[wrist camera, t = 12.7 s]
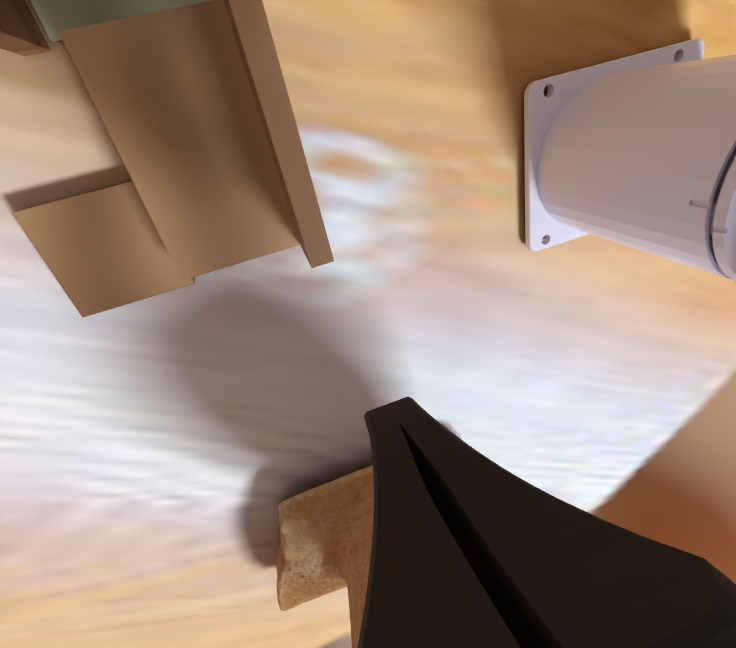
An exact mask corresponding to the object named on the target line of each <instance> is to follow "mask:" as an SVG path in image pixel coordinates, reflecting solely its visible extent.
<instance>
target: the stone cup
mask: <svg viewBox="0 0 736 648" xmlns="http://www.w3.org/2000/svg"><path fill="white" fill-rule="evenodd" d="M278 513H279V517H278V519H279V525H280V530H279V531H280V546H279V551H278V556H277V564H276V567H277V576H278V577H277V596H278V603H279V606H280V609H281V610H282V611H285V610H288V609H291V608H294V607H296V606H298V605H300V604H302V603H304V602H307V601H310V600H313V599H315V598H318V597H320V596H323V595H326V594H328V593H331V592H334V591H336V590H339V589H342V588H344V587H347V588H348V597H349V609H350V621H351V638H352V648H357V647H358V641H359V635H360V629H361V624H362V618H363V612H364V606H365V599H366V592H367V585H368V576H369V567H370V558H371V547H372V534H373V514H374V475H373V465H372V466H369V467H366V468H364V469H361V470H358V471H355V472H353V473H350V474H348V475H345V476H343V477H340V478H338V479H335V480H333V481H330V482H328V483H325V484H322V485H320V486H317V487H315V488H312V489H310V490H307V491H305V492H302V493H300V494H297V495H295V496H293V497H290V498H288V499H286V500H284V501H282V502H281V503H280V504H279V506H278Z"/></svg>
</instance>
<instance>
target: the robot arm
mask: <svg viewBox="0 0 736 648" xmlns="http://www.w3.org/2000/svg"><path fill="white" fill-rule="evenodd" d="M703 52H704V42H703V40H702V39H692V40H688V41H684V42H680V43H677V44H673V45H669V46H665V47H661V48H658V49H654V50H650V51H646V52H642V53H639V54H635V55H631V56H627V57H623V58H620V59H616V60H612V61H608V62H605V63H601V64H597V65H593V66H589V67H586V68H582V69H578V70H574V71H570V72H567V73H563V74H559V75H555V76H551V77H548V78H544V79H540V80H536V81H533V82H531V83H530V84H529V85H528V86H527V88H526V90H525V93H524V144H525V244H526V247H527V248H528V249H529V250H532V251H539V250H542V249H545V248H548V247H551V246H554V245H557V244H560V243H563V242H566V241H569V240H572V239H575V238H578V237H581V236H584V235H587V234H592V235H595V236H598V237H601V238H604V239H607V240H610V241H613V242H617V243H620V244H623V245H626V246H629V247H632V248H635V249H639V250H642V251H645V252H648V253H651V254H654V255H657V256H660V257H664V258H667V259H670V260H673V261H676V262H679V263H682V264H686V265H689V266H692V267H695V268H698V269H701V270H704V271H707V272H711V273H714V274H717V275H720V276H723V277H726V278H730V279H732V280H733V281H735V283H736V55H730V56H723V57H716V58H708V59H702V57H703ZM674 56H675V59H674ZM545 86H547V87H548V92H547V95H546V96H544V93H543V92H544V88H545ZM544 236H545V240H544V241H543V242H542V238H543V237H544ZM364 418H365V422H366V425H367V428H368V432H369V435H370V441H371V449H372V460H373V475H374V514H373V534H372V547H371V558H370V567H369V576H368V585H367V592H366V599H365V606H364V612H363V618H362V624H361V629H360V635H359V641H358V647H357V648H736V584H735V583H733V582H732V581H731V580H730V579H729V578H728V577H727V576H725V575H724V574H723V573H721V572H720V571H719V570H717V569H716V568H715V567H714V566H713V565H711V564H710V563H709V562H708V561H707V560H706V559H704V558H701V557H699V556H696V555H693V554H690V553H687V552H685V551H682V550H679V549H676V548H673V547H671V546H668V545H665V544H662V543H659V542H657V541H654V540H652V539H649V538H646V537H644V536H641V535H638V534H636V533H634V532H631V531H629V530H627V529H624V528H622V527H619V526H617V525H614V524H612V523H610V522H607V521H605V520H602V519H600V518H598V517H596V516H594V515H592V514H590V513H588V512H585V511H583V510H581V509H579V508H577V507H575V506H573V505H570V504H568V503H566V502H564V501H562V500H560V499H558V498H556V497H554V496H552V495H550V494H548V493H546V492H544V491H542V490H540V489H539V488H537V487H535V486H533V485H531V484H529V483H528V482H526V481H524V480H522V479H521V478H519V477H517V476H515V475H514V474H512V473H510V472H509V471H507V470H505V469H504V468H502V467H500V466H499V465H497V464H496V463H494V462H493V461H491V460H490V459H488V458H487V457H485V456H484V455H482V454H481V453H479V452H478V451H476V450H475V449H473V448H472V447H471V446H469V445H468V444H466V443H465V442H464V441H462V440H461V439H460V438H458V437H457V436H456V435H454V434H453V433H452V432H450V431H449V430H448V429H446V428H445V427H444V426H443V425H441V424H440V423H439V422H438V421H437V420H435V419H434V418H433V417H432V416H431V415H429V414H428V413H427V412H426V411H425V410H424V409H423V408H422V407H420V406H419V405H418V404H417V403H416V402H415V401H414V400H413V399H412V398H410V397H405V398H403V399H400V400H397V401H395V402H392V403H389V404H387V405H384V406H381V407H379V408H376V409H373V410H370V411H368V412H366V414H365V415H364Z"/></svg>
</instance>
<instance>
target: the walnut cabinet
mask: <svg viewBox="0 0 736 648" xmlns="http://www.w3.org/2000/svg"><path fill="white" fill-rule="evenodd" d="M30 2H31V4H32V5H33V7H34V9H35V11H36V13H37V15H38V17H39V19H40V21H41V23H42V25H43V27H44V29H45V31H46V33H47V35H48V37H49V39H50V41H52V42H55V41H59V40H62V41H63V43H64V45H65V47H66V49H67V51H68V53H69V55H70V57H71V59H72V61H73V63H74V65H75V67H76V69H77V71H78V73H79V75H80V77H81V79H82V81H83V83H84V85H85V87H86V89H87V91H88V93H89V95H90V97H91V99H92V101H93V103H94V105H95V107H96V109H97V111H98V113H99V115H100V117H101V119H102V121H103V123H104V125H105V127H106V129H107V131H108V133H109V135H110V137H111V139H112V141H113V143H114V145H115V147H116V149H117V151H118V153H119V155H120V157H121V159H122V161H123V163H124V165H125V167H126V169H127V171H128V173H129V175H130V177H131V179H132V181H129V182H125V183H121V184H117V185H113V186H109V187H106V188H102V189H98V190H94V191H90V192H87V193H83V194H79V195H75V196H71V197H67V198H64V199H60V200H56V201H52V202H48V203H44V204H41V205H37V206H33V207H29V208H25V209H21V210H18V211H16V212H13V213H12V214H13V216H14V217H15V218H16V220H17V221H18V223H19V224H20V226H21V227H22V229H23V230H24V232H25V233H26V235H27V236H28V238H29V239H30V241H31V242H32V244H33V245H34V246H35V248H36V249H37V251H38V252H39V254H40V255H41V257H42V258H43V260H44V261H45V263H46V264H47V266H48V267H49V269H50V270H51V272H52V273H53V274H54V276H55V277H56V279H57V280H58V282H59V283H60V285H61V286H62V288H63V289H64V291H65V292H66V294H67V295H68V297H69V298H70V300H71V301H72V302H73V304H74V305H75V307H76V308H77V310H78V311H79V313H80V314H81V316H82V317H86V316H89V315H92V314H96V313H99V312H102V311H106V310H109V309H112V308H115V307H119V306H122V305H125V304H129V303H132V302H135V301H139V300H142V299H145V298H148V297H152V296H155V295H158V294H162V293H165V292H168V291H171V290H175V289H178V288H181V287H185V286H188V285H191V284H194V281H195V276H198V275H202V274H205V273H208V272H212V271H215V270H218V269H222V268H225V267H228V266H231V265H235V264H238V263H241V262H245V261H248V260H251V259H255V258H258V257H261V256H265V255H268V254H271V253H275V252H278V251H281V250H285V249H288V248H291V247H294V246H298V245H301V247H302V249H303V251H304V253H305V255H306V257H307V259H308V261H309V263H310V265H311V268H314V267H317V266H320V265H323V264H326V263H330V262H333V261H334V260H333V256H332V252H331V249H330V245H329V241H328V238H327V234H326V231H325V227H324V223H323V220H322V216H321V212H320V209H319V205H318V202H317V198H316V194H315V191H314V187H313V183H312V180H311V176H310V173H309V169H308V165H307V162H306V158H305V155H304V151H303V147H302V144H301V140H300V136H299V133H298V129H297V126H296V122H295V118H294V115H293V111H292V107H291V104H290V100H289V97H288V93H287V89H286V86H285V82H284V78H283V75H282V71H281V68H280V64H279V60H278V57H277V53H276V50H275V46H274V42H273V39H272V35H271V31H270V28H269V24H268V21H267V17H266V13H265V10H264V6H263V2H262V0H30ZM0 48H1V49H4V50H7V51H11V52H14V53H17V54H20V55H24V56H26V55H31V54H36V53H41V52H45V51H50V49H49V47H48V45H47V43H46V41H45V39H44V37H43V35H42V33H41V31H40V29H39V27H38V25H37V24H36V22H35V20H34V18H33V16H32V14H31V12H30V10H29V8H28V6H27V4H26V2H25V0H0Z"/></svg>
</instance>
